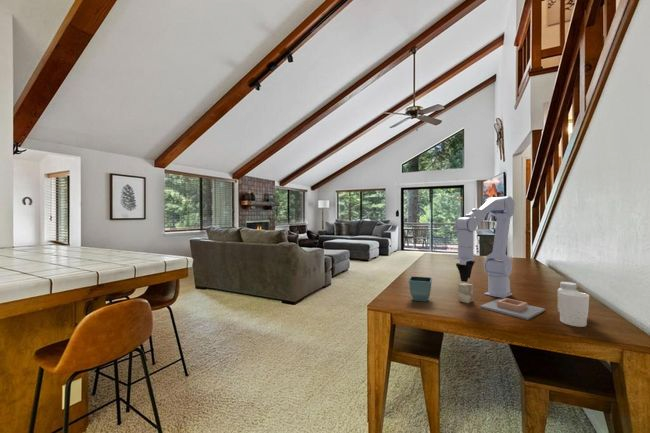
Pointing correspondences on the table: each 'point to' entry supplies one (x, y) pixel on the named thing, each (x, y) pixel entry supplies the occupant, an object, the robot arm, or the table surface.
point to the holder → (513, 308)
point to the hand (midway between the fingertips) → (465, 279)
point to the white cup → (573, 307)
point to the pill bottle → (566, 286)
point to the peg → (465, 292)
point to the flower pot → (420, 288)
